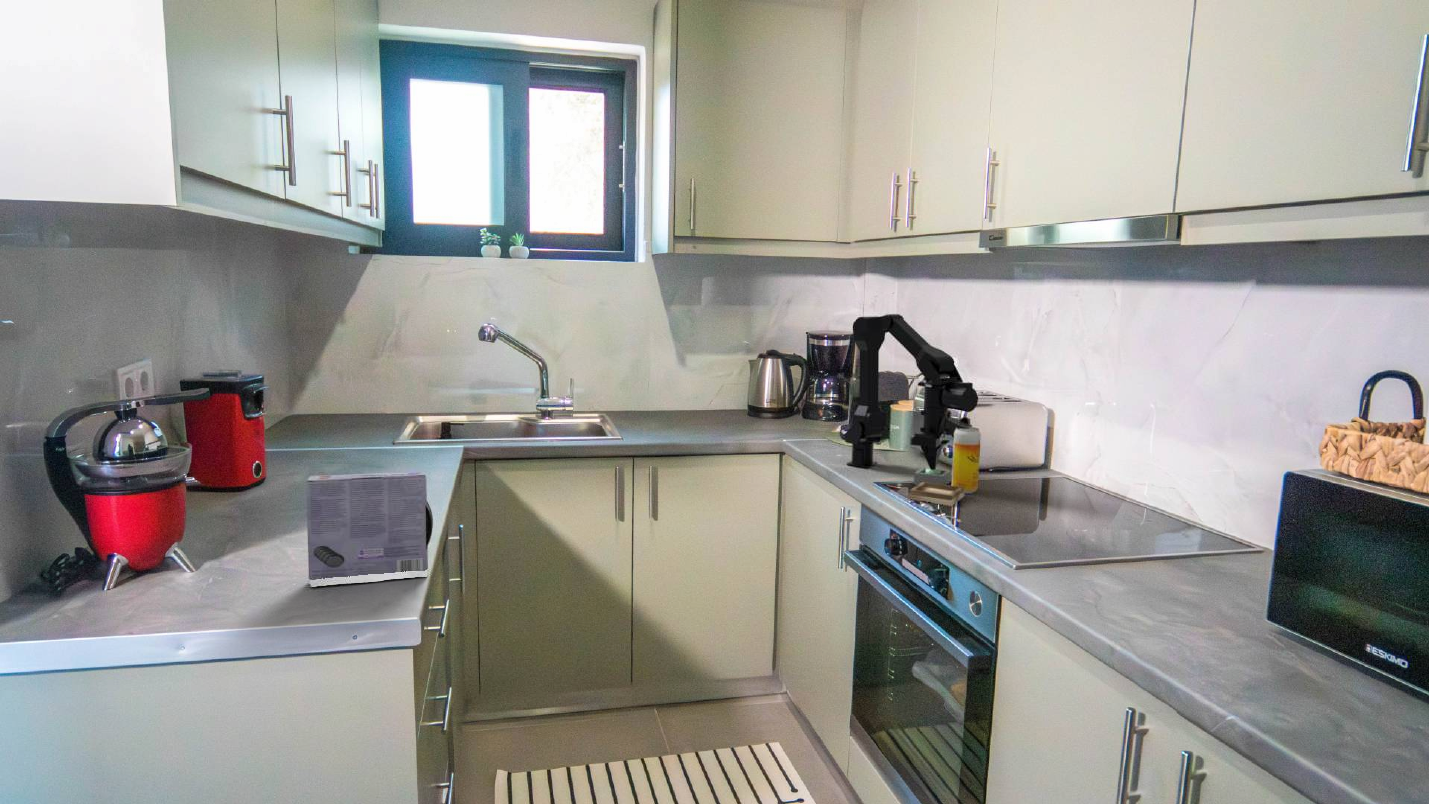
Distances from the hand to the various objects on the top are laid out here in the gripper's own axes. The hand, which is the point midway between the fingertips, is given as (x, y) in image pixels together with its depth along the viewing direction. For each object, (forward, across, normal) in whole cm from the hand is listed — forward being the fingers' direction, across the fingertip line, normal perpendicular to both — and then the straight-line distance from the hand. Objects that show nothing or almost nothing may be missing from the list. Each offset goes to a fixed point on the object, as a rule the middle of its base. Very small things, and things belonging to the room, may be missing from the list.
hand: (932, 469), depth 211 cm
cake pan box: (+4, -117, +57) cm, 130 cm away
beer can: (+4, -2, -9) cm, 10 cm away
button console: (+4, 0, 0) cm, 4 cm away
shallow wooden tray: (+4, -13, -5) cm, 14 cm away
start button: (+2, 0, 0) cm, 2 cm away
